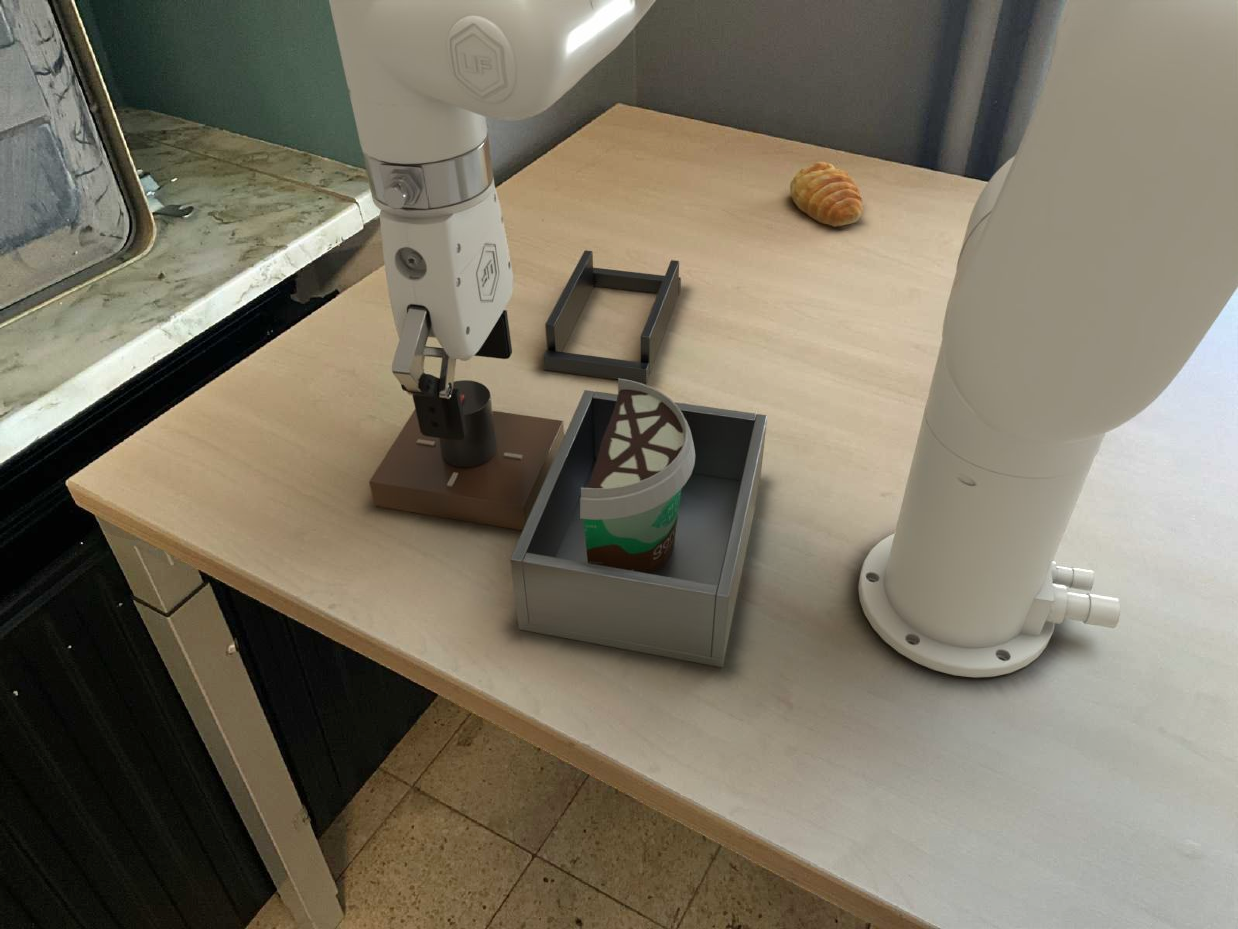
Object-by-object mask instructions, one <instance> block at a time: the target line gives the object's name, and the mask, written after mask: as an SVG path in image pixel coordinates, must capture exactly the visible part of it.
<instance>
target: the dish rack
mask: <svg viewBox="0 0 1238 929" xmlns="http://www.w3.org/2000/svg"><path fill="white" fill-rule="evenodd" d="M593 254H594V252H593V250H584V251H583V253H582V254H581V256H580V258H579V260H578V262H577V264H576V265H575V268H574V269H573V271H572V273H571V275H570V277H569V279H568V281H567V282H566V284H565V287H564V288H563V290H562V292H561V294H560V296H559V298H558V299H557V301H556V303H555V305H554V307H553V309H552V311H551V313H550V315H549V317H548V318H547V320H546V322H545V325H544V327H545V338H546V339H545V340H546V350H545V351H544V353H543V356H542V360H543V361H542V362H543V370H544V371H550V372H558V373H564V374H572V375H579V376H586V377H593V378H602V379H609V380H617V381H618V378H620V379H626V380H631V381H635V382H639V383H642V384H645V385H646V384H647V383H648V380H649V377H650V374H651V372H652V369H653V366H654V364H655V361H656V358H657V356H658V353H659V350H660V348H661V345H662V342H663V339H664V337H665V334H666V331H667V329H668V325H669V323H670V320H671V318H672V315H673V313H674V309H675V306H676V304H677V301H678V299H679V296H680V293H681V290H682V288H681V287H682V277H680V261H679V260H675V259H671V260H670V262H669V264H668V267H667V270H666V272H665V275H663V274H653V273H645V272H638V271H637V272H635V271H627V270H619V269H610V268H601V267H594V255H593ZM595 287H598V288H599V287H600V288H608V289H617V290H626V291H634V292H643V293H651V294H656V298H655V300H654V301H653V304H652V307H651V309H650V312H649V315H648V318H647V319H646V322H645V325H644V328H643V330H642V332H641V335H640V361H633V360H627V359H620V358H619V359H618V358H611V357H603V356H595V355H588V354H580V353H572V352H564V351H563V350H564V349H565V346H566V344H567V342H568V340H569V338H570V337H571V335H572V332H573V330H574V328H575V326H576V324H577V323H578V321H579V318H580V316H581V314H582V312H583V310H584V308H585V306H586V304H587V302H588V300H589V298H590V296H591V294H592V291H593V290H594V288H595Z"/></svg>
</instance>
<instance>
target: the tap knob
mask: <svg viewBox="0 0 1238 929" xmlns="http://www.w3.org/2000/svg"><path fill="white" fill-rule="evenodd" d="M453 388H454V389H459V392H460V397H461V403H462V408H463V413H464V419H465V424H466V430H467V434H466V436H465V438H464V439H463V440H461V441H459V440H452V439H444V438H439V443H440V449H441V454H442V457H443V459H444V460H445V461H446V462H447V463H449V464H451V465H453V466H456V467H463V468H468V467H475V466H479V465H482V464H484V463H486V462H487V461H489V460H490V459H491V458H492V457H493V456H494V454H495V453H496V450H497V443H496V435H495V427H494V419H493V411H494V410H493V405H492V396H491V392H490V389H489V388H488V387H487V386H486V385H484V384H483V383H481V382H478V381H476V380H471V379H463V380H461V379H460V380H454V383H453Z"/></svg>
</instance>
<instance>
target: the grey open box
mask: <svg viewBox="0 0 1238 929" xmlns="http://www.w3.org/2000/svg"><path fill="white" fill-rule="evenodd" d="M617 396H618V393H610V392H603V391H595V390H587V389H584V391H583V393H582V395H581V397H580V399H579V402H578V404H577V407H576V409H575V411H574V414H573V416H572V418H571V420H570V422H569V425H568V427H567V428H566V431H565V433H564V438H563V440H562V443H561V445H560V447H559V449H558V452H557V454H556V456H555V458H554V461H553V463H552V465H551V468H550V470H549V472H548V474H547V477H546V479H545V481H544V483H543V486H542V488H541V490H540V492H539V495H538V497H537V499H536V502H535V504H534V506H533V508H532V511H531V513H530V515H529V517H528V520H527V522H526V524H525V526H524V529H523V530H521V533H520V535H519V538H518V540H517V542H516V545H515V547H514V549H513V552H512V554H511V555H510V558H509V562H510V569H511V578H512V586H513V594H514V601H515V603H514V604H515V610H516V618H517V626H518V630H519V631H526V632H529V633H530V632H531V633H536V634H541V635H546V636H553V637H558V638H563V639H569V640H573V641H579V642H584V643H590V644H596V645H599V646H600V645H601V646H606V647H611V648H616V649H621V650H626V651H627V650H628V651H632V652H638V653H643V654H648V655H653V656H660V657H664V658H670V659H675V660H680V661H686V662H690V663H696V664H703V665H707V666H713V667H719V668H723V667H724V662H725V658H726V653H727V649H728V644H729V640H730V639H729V638H730V633H731V628H732V624H733V618H734V613H735V608H736V604H737V599H738V593H739V589H740V584H741V579H742V574H743V570H744V564H745V559H746V554H747V549H748V545H749V539H750V536H751V535H750V534H751V529H752V526H753V520H754V515H755V511H756V505H757V500H758V496H759V491H760V486H761V476H762V470H763V469H762V467H763V461H764V460H763V459H764V449H765V442H766V441H765V440H766V431H767V424H768V415H767V414H761V413H754V412H747V411H741V410H740V411H739V410H734V409H725V408H718V407H713V406H712V407H710V406H705V405H704V406H703V405H696V404H689V403H682V402H675V401H673V402H674V403H675V404H676V405H677V406H678V407H679V409H680V410H681V412H682V413H683V416H684V418H685V419H686V421H687V423H688V425H689V428H690V431H691V435H692V439H693V444H694V449H695V464H694V468H693V471H692V473H691V476H690V477H689V479H688V481H687V482H686V484H685V485H684V486H683V487H682V488H681V496H680V503H679V511H678V518H677V526H676V533H675V541H674V548H673V551H672V554H671V556H670V557H669V559H668V560H667V562H666V564H665V565H664V566H663V567H662V568H661V569H659V570H658V571H657V572H656V573H654V574H648V573H642V572H637V571H631V570H625V569H619V568H613V567H607V566H602V565H596V564H590V563H588V561H587V550H586V540H585V530H584V519H580V499H581V488H588V485H589V482H590V479H591V476H592V473H593V470H594V467H595V463H596V460H597V457H598V454H599V450H600V447H601V443H602V440H603V436H604V434H605V431H606V429H607V426H608V424H609V421H610V419H611V416H612V413H613V410H614V408H615V405H616V401H617Z"/></svg>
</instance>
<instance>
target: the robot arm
mask: <svg viewBox="0 0 1238 929" xmlns="http://www.w3.org/2000/svg"><path fill="white" fill-rule="evenodd" d="M656 1H657V0H328V3H329V8H330V12H331V18H332V21H333V25H334V31H335V35H336V39H337V44H338V49H339V53H340V58H341V63H342V67H343V72H344V76H345V80H346V85H347V90H348V94H349V99H350V103H351V108H352V112H353V117H354V121H355V126H356V131H357V135H358V140H359V144H360V147H361V153H362V154H361V155H362V156H363V157H362V158H363V163H364V167H365V172H366V176H367V180H368V185H369V190H370V194H371V198H372V202H373V204H374V206H376V207H377V208H378V210H380V212H379V222H380V235H381V246H382V254H383V255H382V256H383V263H384V270H385V277H386V285H387V290H388V296H389V302H390V303H389V304H390V307H391V312H392V317H393V321H394V325H395V329H396V333H397V336H398V344H397V346H396V350H395V354H394V356H393V360H392V364H391V372H392V374H393V375H394V377H395V379H397V381H398V382H399V384H400V387H401V390H402V391H404V392H406V393H407V394H408V395H409V396H411V395H412V400H413V404H414V410H415V409H416V414H417V418H418V423H419V427H420V431H421V433H422V434H423V435H424V436H428V437H436V438H444V439H452V440H459V441H461V440H463V439H464V438H465V436H466V434H467V430H466V424H465V419H464V413H463V408H462V403H461V397H460V392H459V389H454V388H453V383H454V381H455V375H456V367H457V366H456V365H457V360H460V361H463V362H467V361H469V360H471V359H472V358H473V357H481V358H491V359H500V360H501V359H502V360H508V359H510V357H511V356H512V354H513V346H512V340H511V333H510V324H509V318H508V310H507V309H506V307H507V305H508V303H509V302H510V300H511V298H512V295H513V292H514V286H515V285H514V284H515V282H514V274H513V267H512V262H511V257H510V250H509V244H508V239H507V234H506V229H505V223H504V219H503V213H502V208H501V204H500V200H499V196H498V192H497V189H496V185H495V179H494V178H495V177H494V172H493V164H492V155H491V150H490V141H489V135H488V133H489V132H488V125H487V118H489V119H494V120H500V121H509V122H510V121H522V120H525V119H531V118H533V117H535V116H538V115H539V114H542V113H543V112H545V111H546V110H548V109H549V108H550V107H552V106H553V105H554V104H555V103H556V102H558V101H559V100H560V99H561V98H562V97H563V96H564V95H565V94H566V93H567V92H569V91H570V90H571V89H572V88H573V87H574V86H576V84H578V82H579V81H581V79H583V77H584V76H586V75H587V74H588V73H589V72H590V71H591V70H593V68H594V67H595V66H596V65H598V64H599V63H600V62H601V61H602V60H604V59H606V57H607V56H609V55H610V54H611V53H612V52H613V51H614V50H616V49H617V47H619V45H620V44H621V43H623V41H624V40H625V39H626V38H627V37H628V35H629V34H631V32H632V31H633V30H634V28H635V27H637V25H638V23H639V22H640V21H641V20H642V19H643V17H644V16H645V15H646V14H647V12H648V11H649V10H650V8H651V7H652V6H653V5H654V3H655V2H656ZM1049 58H1050V59H1049V64H1048V69H1047V72H1046V76H1045V80H1044V82H1043V86H1042V88H1041V91H1040V94H1039V97H1038V100H1037V102H1036V104H1035V107H1034V109H1033V112H1032V114H1031V117H1030V120H1029V123H1028V125H1027V127H1026V129H1025V132H1024V134H1023V137H1022V140H1021V141H1020V144H1019V146H1018V149H1017V151H1016V153H1015V155H1013V156H1011V157H1010V158H1009V159H1008V160H1007V161H1006V162H1005V163H1004V164H1003V165H1002V166H1001V167H999V169H998V170H996V171H995V173H994V174H993V175H992V176H991V177H990V179H989V180H988V181H987V183H986V184H985V186H984V188H983V189H982V190H981V192H980V193H979V196H978V197H977V200H976V202H975V203H974V205H973V208H972V211H971V213H970V216H969V218H968V222H967V226H966V230H965V233H964V237H963V240H962V245H961V248H960V252H959V255H958V259H957V264H956V270H955V275H954V278H953V282H952V286H951V289H950V292H949V296H948V300H947V305H946V309H945V314H944V318H943V323H942V330H941V342H940V346H939V351H938V354H937V359H936V362H935V366H934V371H933V374H932V378H931V381H930V382H931V383H930V386H929V391H928V395H927V399H926V402H925V406H924V407H925V408H924V411H923V416H922V418H921V423H920V427H919V432H918V436H917V439H916V443H915V449H914V452H913V456H912V460H911V465H910V469H909V473H908V477H907V481H906V485H905V489H904V493H903V497H902V501H901V506H900V510H899V514H898V518H897V521H896V527H895V530H894V533H891V534H890V535H888V536H886V537H884V538H883V539H881V540H879V541H878V542H877V544H876V545H874V546H873V548H871V549H870V551H869V553H868V554H867V556H866V557H865V559H864V561H863V563H862V566H861V570H860V575H859V580H858V586H857V588H858V589H857V590H858V597H859V603H860V606H861V608H862V611H863V614H864V616H865V617H866V619H867V621H868V623H869V624H870V626H871V627H872V629H873V630H874V631H875V632H876V633H877V635H878V636H879V637H880V638H881V639H882V640H883V641H884V642H885V643H886V644H888V645H889V646H890V647H891V648H892V649H894V650H895V651H897V653H898V654H900V655H902V656H904V657H906V658H907V659H909V660H911V661H913V662H914V663H916V664H919V665H920V666H923V667H926V668H928V669H930V670H932V671H936V672H940V673H944V674H947V675H952V676H959V677H965V678H966V677H967V678H992V677H993V678H994V677H999V676H1002V675H1003V676H1004V675H1007V674H1011V673H1014V672H1016V671H1018V670H1021V669H1023V668H1025V667H1027V666H1028V665H1029V664H1031V663H1033V662H1034V661H1035V660H1036V659H1038V658H1039V656H1040V655H1041V654H1042V653H1043V651H1044V650H1045V649H1046V648H1047V647H1048V644H1049V642H1050V640H1051V637H1052V635H1053V633H1054V631H1055V626H1056V624H1062V623H1063V621H1064V619H1067V620H1073V621H1078V622H1082V623H1083V624H1085V625H1091V626H1098V627H1102V628H1103V627H1104V628H1110V629H1115V628H1116V627H1117V625H1118V623H1119V621H1120V616H1121V602H1120V599H1119V598H1118V597H1113V596H1106V595H1101V594H1096V593H1095V594H1094V593H1085V594H1084V593H1078V592H1071V591H1068V588H1069V589H1074V590H1081V591H1086V592H1087V591H1089V592H1091V591H1092V589H1093V585H1094V582H1095V572H1094V570H1091V569H1085V568H1084V569H1083V568H1078V567H1065V566H1060V565H1057V562H1056V560H1054V559H1055V557H1056V554H1057V552H1058V549H1059V547H1060V544H1061V542H1062V539H1063V537H1064V535H1065V532H1066V530H1067V527H1068V525H1069V522H1070V520H1071V518H1072V515H1073V512H1074V510H1075V507H1076V504H1077V502H1078V500H1079V497H1080V495H1081V492H1082V489H1083V487H1084V485H1085V483H1086V480H1087V478H1088V475H1089V473H1090V470H1091V467H1092V465H1093V463H1094V460H1095V457H1096V456H1097V454H1098V452H1099V450H1100V449H1101V445H1102V443H1103V441H1104V438H1105V435H1106V433H1109V432H1111V431H1113V430H1115V429H1117V428H1119V427H1121V426H1122V425H1125V424H1126V423H1127V422H1129V421H1130V420H1133V419H1134V418H1135V417H1136V416H1138V415H1139V414H1141V413H1142V412H1143V411H1145V410H1146V409H1147V408H1148V407H1149V406H1150V405H1151V404H1153V403H1154V402H1155V401H1156V400H1157V399H1158V398H1159V397H1160V395H1162V394H1163V393H1164V392H1165V390H1166V389H1167V388H1168V386H1170V385H1171V383H1172V382H1173V381H1174V380H1175V379H1176V377H1177V376H1178V374H1179V373H1180V372H1181V370H1182V369H1183V368H1184V367H1185V365H1186V364H1187V362H1188V361H1189V359H1191V357H1192V355H1194V352H1195V351H1196V349H1197V348H1198V347H1199V345H1200V343H1201V342H1202V341H1203V339H1204V338H1205V336H1206V335H1207V333H1208V332H1209V331H1210V329H1211V328H1212V326H1213V325H1214V323H1215V322H1216V320H1217V319H1218V318H1219V316H1220V314H1221V313H1222V312H1223V310H1224V308H1225V306H1226V305H1227V304H1228V302H1229V301H1230V300H1231V299H1232V297H1233V295H1234V293H1236V291H1237V289H1238V0H1066V2H1065V5H1064V6H1063V10H1062V13H1061V15H1060V18H1059V22H1058V24H1057V28H1056V32H1055V37H1054V41H1053V46H1052V51H1051V55H1050V57H1049ZM429 338H435V339H436V340H437V342H438V343H439V345H440V347H436V346H428V345H427V342H428V339H429ZM425 357H426V358H435V359H441V361H440V362H441V364H440V372H439V377H437V376H436V375H433V374H430V373H426V372H425V367H424V366H425ZM1067 587H1068V588H1067Z"/></svg>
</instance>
